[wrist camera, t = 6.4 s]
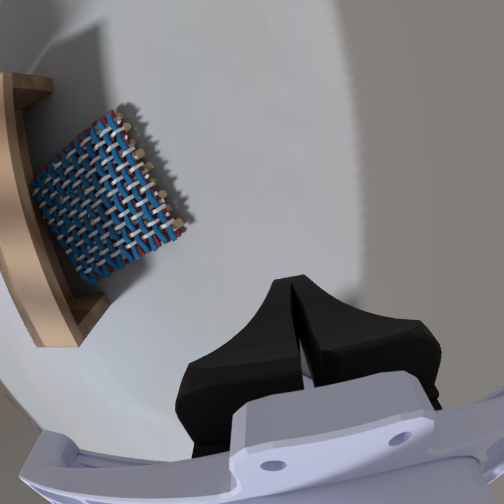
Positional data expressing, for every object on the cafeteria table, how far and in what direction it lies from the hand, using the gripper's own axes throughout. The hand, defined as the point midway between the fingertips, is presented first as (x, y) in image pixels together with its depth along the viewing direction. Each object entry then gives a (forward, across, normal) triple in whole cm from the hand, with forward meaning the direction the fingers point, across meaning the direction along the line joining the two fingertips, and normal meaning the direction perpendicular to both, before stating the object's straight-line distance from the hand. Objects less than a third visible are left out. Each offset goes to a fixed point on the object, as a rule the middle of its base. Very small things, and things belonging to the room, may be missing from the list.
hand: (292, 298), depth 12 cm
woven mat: (+10, +12, -5) cm, 17 cm away
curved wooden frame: (+9, +17, -6) cm, 21 cm away
